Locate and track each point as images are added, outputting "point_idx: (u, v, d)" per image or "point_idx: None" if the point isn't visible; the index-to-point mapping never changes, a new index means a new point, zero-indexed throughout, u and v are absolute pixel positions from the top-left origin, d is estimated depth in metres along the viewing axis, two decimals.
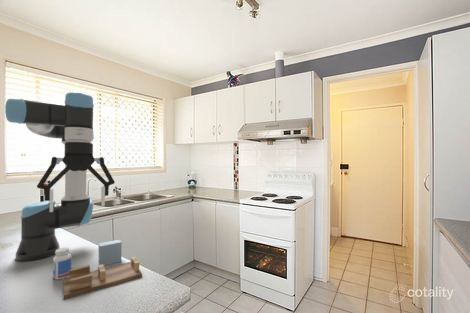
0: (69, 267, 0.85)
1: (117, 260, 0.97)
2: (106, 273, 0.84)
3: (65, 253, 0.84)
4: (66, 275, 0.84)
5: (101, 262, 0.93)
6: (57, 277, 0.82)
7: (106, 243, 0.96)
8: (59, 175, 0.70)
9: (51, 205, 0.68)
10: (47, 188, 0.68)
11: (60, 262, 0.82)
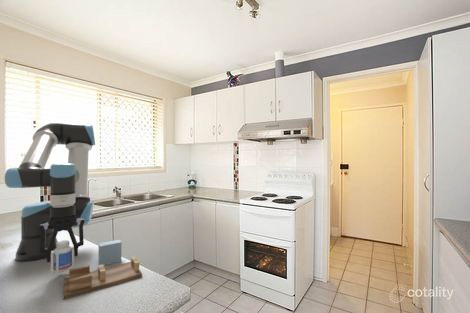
0: (69, 259, 0.86)
1: (117, 260, 0.97)
2: (106, 273, 0.84)
3: (65, 246, 0.85)
4: (66, 267, 0.84)
5: (101, 262, 0.93)
6: (58, 269, 0.83)
7: (106, 243, 0.96)
8: (52, 239, 0.83)
9: (52, 266, 0.83)
10: (49, 252, 0.82)
11: (61, 254, 0.83)
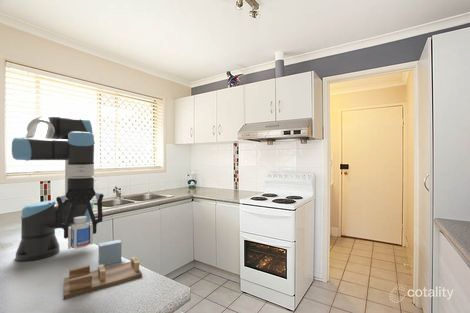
0: (88, 236, 0.79)
1: (117, 260, 0.97)
2: (106, 273, 0.84)
3: (84, 221, 0.78)
4: (85, 244, 0.78)
5: (101, 262, 0.93)
6: (75, 246, 0.76)
7: (106, 243, 0.96)
8: (70, 213, 0.76)
9: (69, 242, 0.76)
10: (66, 227, 0.75)
11: (79, 230, 0.76)
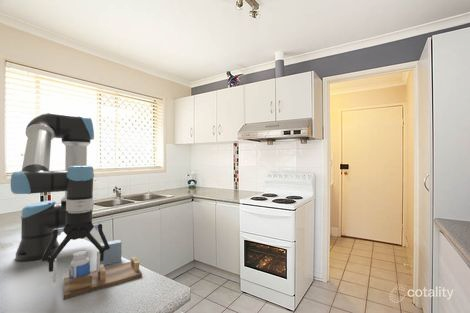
0: (88, 272, 0.79)
1: (117, 260, 0.97)
2: (106, 273, 0.84)
3: (83, 257, 0.78)
4: None
5: (101, 262, 0.93)
6: None
7: None
8: (61, 246, 0.75)
9: (54, 276, 0.73)
10: (51, 260, 0.73)
11: (78, 266, 0.76)
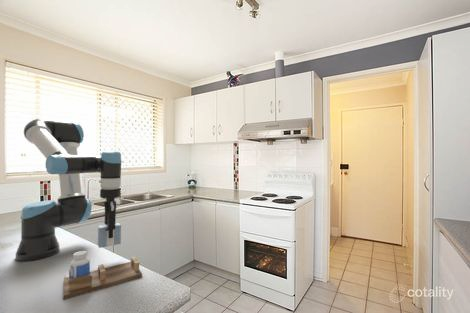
0: (88, 272, 0.79)
1: (116, 242, 0.97)
2: (106, 273, 0.84)
3: (83, 257, 0.78)
4: None
5: (100, 244, 0.94)
6: None
7: (106, 225, 0.96)
8: (105, 214, 0.98)
9: None
10: None
11: (78, 267, 0.76)
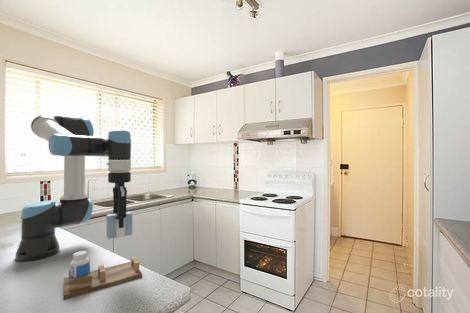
0: (88, 272, 0.79)
1: (127, 233, 0.86)
2: (106, 273, 0.84)
3: (83, 257, 0.78)
4: None
5: (110, 234, 0.82)
6: None
7: (115, 214, 0.85)
8: (114, 202, 0.87)
9: None
10: None
11: (78, 267, 0.76)
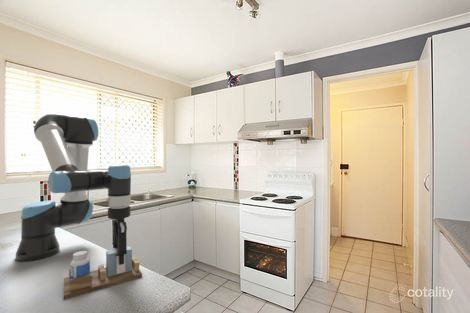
0: (88, 272, 0.79)
1: (127, 269, 0.86)
2: None
3: (83, 257, 0.78)
4: None
5: (109, 272, 0.82)
6: None
7: (115, 250, 0.85)
8: (114, 235, 0.88)
9: None
10: (113, 246, 0.88)
11: (78, 267, 0.76)
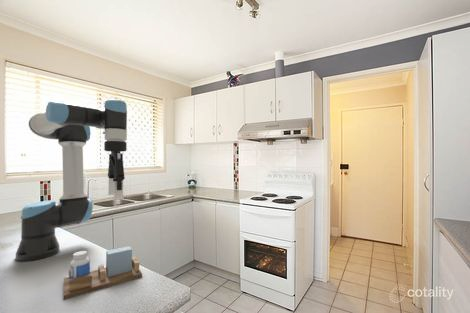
0: (88, 272, 0.79)
1: (127, 269, 0.86)
2: None
3: (83, 257, 0.78)
4: None
5: (109, 272, 0.82)
6: None
7: (115, 250, 0.85)
8: (109, 168, 0.91)
9: None
10: (108, 177, 0.93)
11: (78, 267, 0.76)
